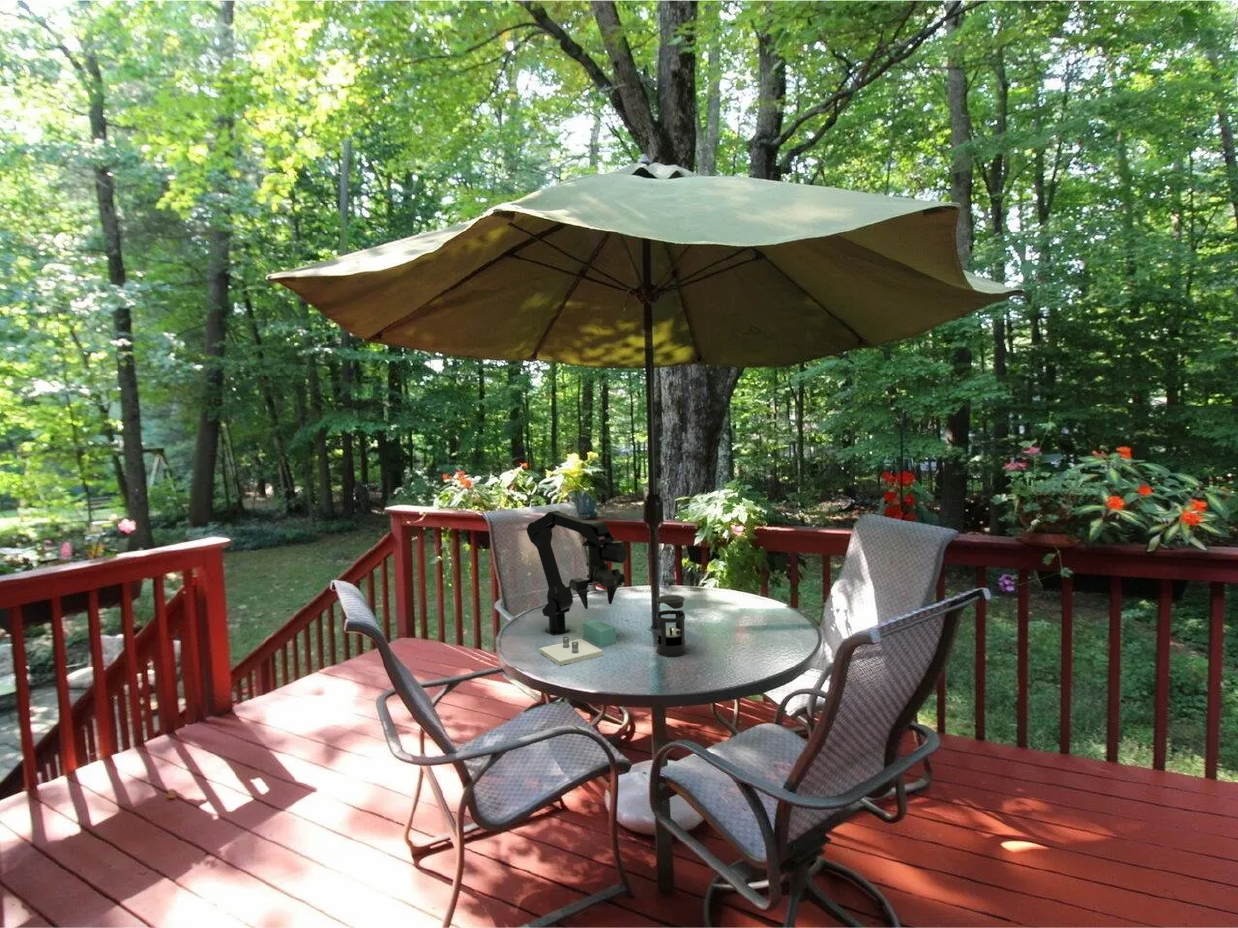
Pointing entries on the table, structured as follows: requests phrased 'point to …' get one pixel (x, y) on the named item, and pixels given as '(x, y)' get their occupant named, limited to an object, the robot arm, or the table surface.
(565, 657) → the base plate
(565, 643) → the stubs
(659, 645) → the french press
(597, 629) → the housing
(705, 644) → the table surface
